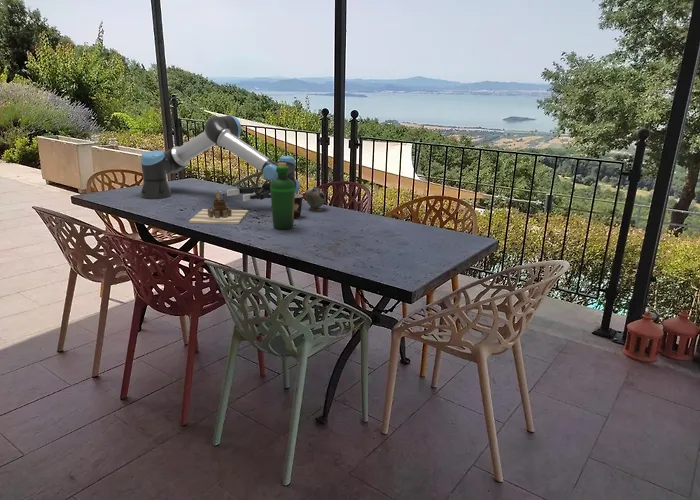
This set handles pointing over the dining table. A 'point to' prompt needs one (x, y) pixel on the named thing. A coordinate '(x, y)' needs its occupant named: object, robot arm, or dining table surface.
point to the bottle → (282, 199)
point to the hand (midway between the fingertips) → (235, 195)
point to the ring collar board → (227, 218)
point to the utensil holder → (219, 205)
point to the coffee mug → (297, 205)
